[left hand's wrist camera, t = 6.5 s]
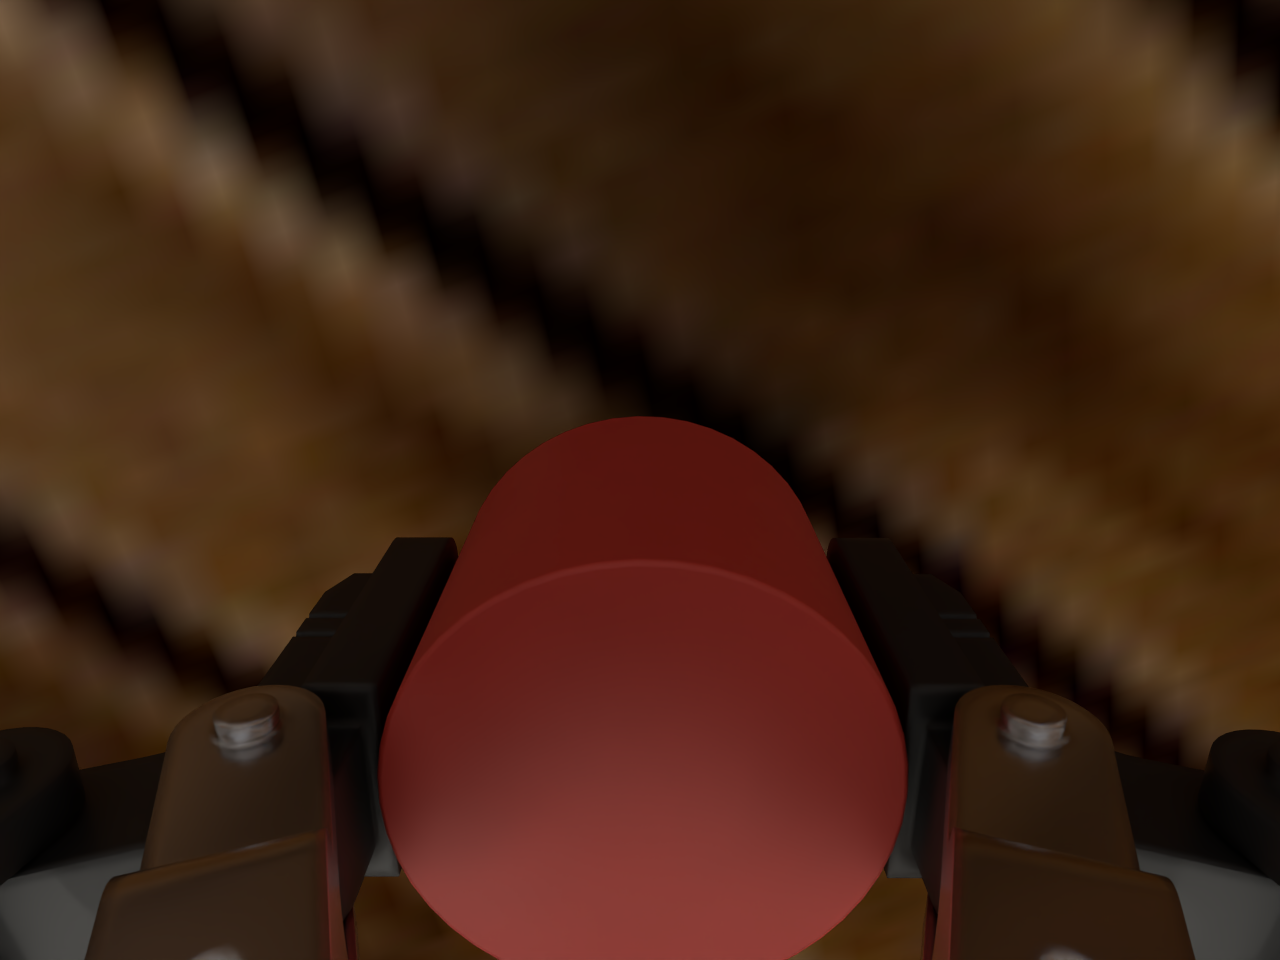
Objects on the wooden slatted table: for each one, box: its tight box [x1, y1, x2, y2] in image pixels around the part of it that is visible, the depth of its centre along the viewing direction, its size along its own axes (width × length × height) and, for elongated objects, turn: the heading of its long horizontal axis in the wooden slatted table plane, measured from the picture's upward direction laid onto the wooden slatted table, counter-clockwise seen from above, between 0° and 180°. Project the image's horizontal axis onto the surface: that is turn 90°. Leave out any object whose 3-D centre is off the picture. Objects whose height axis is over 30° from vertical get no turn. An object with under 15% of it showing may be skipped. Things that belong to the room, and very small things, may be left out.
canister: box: [377, 416, 908, 960], centre depth 10 cm, size 5×5×4 cm
